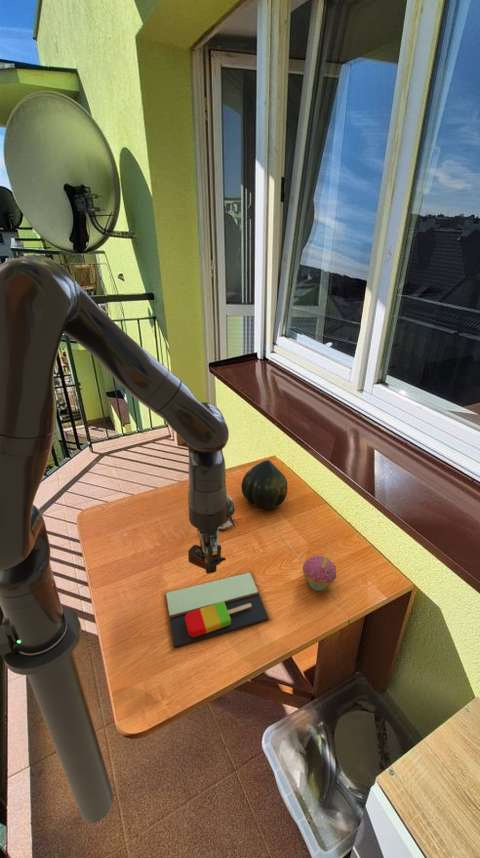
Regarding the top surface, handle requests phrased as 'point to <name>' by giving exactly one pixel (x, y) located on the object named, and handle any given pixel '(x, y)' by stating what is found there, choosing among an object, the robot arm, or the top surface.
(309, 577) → the cupcake
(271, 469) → the squash
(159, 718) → the top surface
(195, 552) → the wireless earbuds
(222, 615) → the popsicle
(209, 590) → the sorting mat
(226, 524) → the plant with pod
